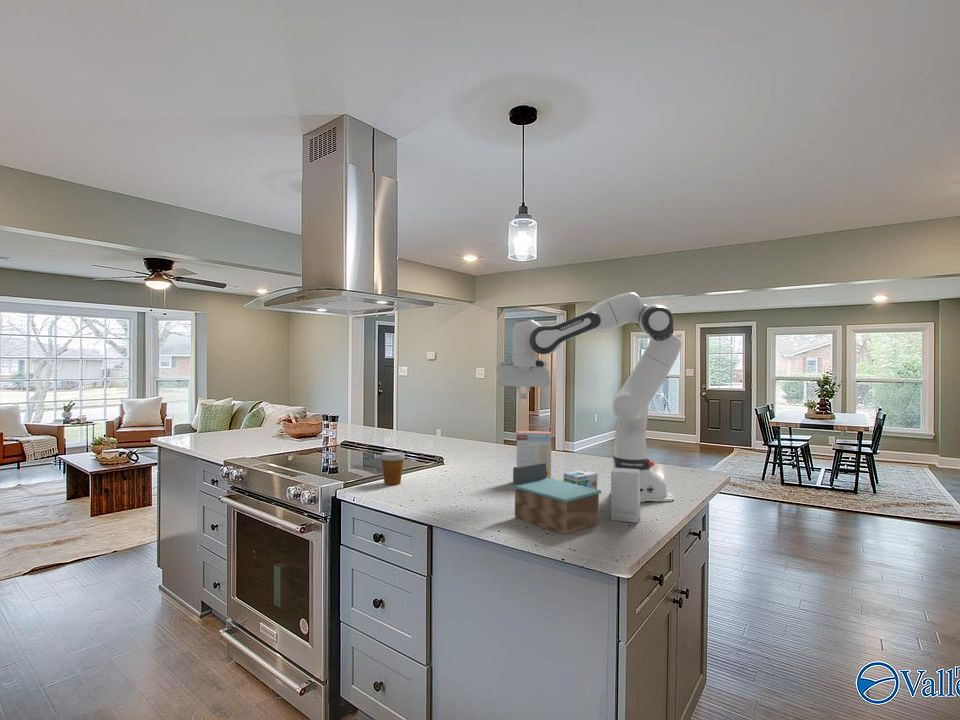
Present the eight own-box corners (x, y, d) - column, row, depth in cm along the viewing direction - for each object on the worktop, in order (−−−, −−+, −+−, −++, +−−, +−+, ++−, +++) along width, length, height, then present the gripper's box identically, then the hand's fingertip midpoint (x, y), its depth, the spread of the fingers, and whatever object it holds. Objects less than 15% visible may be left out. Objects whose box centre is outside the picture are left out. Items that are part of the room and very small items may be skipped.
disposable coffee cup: (384, 480, 206) (385, 450, 206) (407, 481, 204) (408, 451, 204) (376, 485, 196) (377, 454, 196) (400, 487, 195) (401, 455, 195)
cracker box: (550, 481, 208) (551, 431, 208) (551, 485, 202) (551, 433, 202) (516, 480, 209) (517, 430, 209) (515, 484, 203) (516, 431, 203)
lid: (509, 486, 160) (509, 467, 160) (545, 479, 171) (545, 461, 171) (565, 502, 143) (565, 481, 143) (601, 493, 154) (601, 473, 154)
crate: (514, 517, 158) (515, 488, 159) (548, 508, 169) (548, 481, 169) (564, 534, 143) (565, 502, 144) (598, 523, 154) (598, 493, 154)
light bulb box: (576, 508, 170) (577, 476, 170) (562, 504, 175) (562, 472, 175) (597, 504, 176) (598, 473, 176) (583, 499, 181) (583, 469, 181)
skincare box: (640, 518, 160) (641, 469, 160) (637, 524, 154) (638, 473, 154) (613, 514, 164) (614, 466, 164) (609, 520, 158) (610, 470, 158)
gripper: (496, 361, 191) (495, 398, 191) (550, 362, 189) (550, 399, 189) (496, 361, 197) (496, 397, 197) (549, 362, 196) (549, 398, 196)
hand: (523, 398), depth 193 cm, fingers closed
